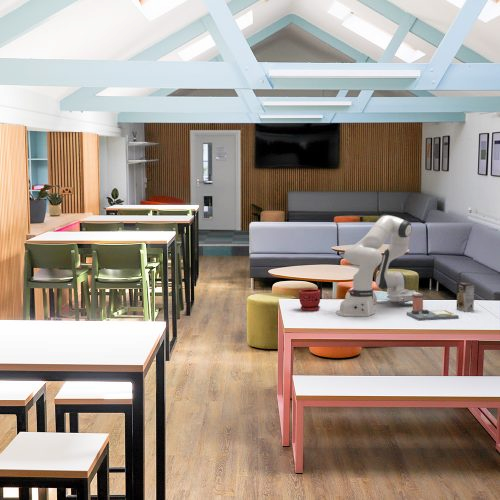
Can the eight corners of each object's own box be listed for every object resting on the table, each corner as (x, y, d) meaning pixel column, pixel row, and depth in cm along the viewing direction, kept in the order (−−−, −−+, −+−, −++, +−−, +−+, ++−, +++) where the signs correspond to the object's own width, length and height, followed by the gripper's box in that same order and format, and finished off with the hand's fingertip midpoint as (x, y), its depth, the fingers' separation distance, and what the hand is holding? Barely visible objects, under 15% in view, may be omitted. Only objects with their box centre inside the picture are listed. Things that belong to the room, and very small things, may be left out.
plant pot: (320, 307, 473) (320, 288, 471) (320, 312, 460) (320, 292, 458) (299, 307, 474) (299, 288, 473) (298, 311, 461) (298, 291, 460)
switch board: (418, 320, 432) (418, 314, 431) (406, 314, 448) (406, 309, 448) (458, 318, 436) (458, 312, 436) (445, 312, 453) (445, 307, 453)
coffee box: (455, 309, 464) (456, 282, 463) (465, 308, 466) (465, 281, 465) (464, 311, 456) (465, 284, 454) (474, 311, 458) (474, 284, 456)
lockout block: (415, 312, 455) (415, 295, 454) (411, 311, 460) (412, 294, 458) (423, 312, 456) (423, 295, 455) (419, 310, 460) (420, 294, 459)
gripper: (385, 291, 479) (394, 294, 465) (416, 290, 483) (426, 293, 469) (385, 301, 479) (393, 305, 466) (416, 300, 483) (425, 303, 470)
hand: (410, 299), depth 468 cm, fingers open, 8 cm apart
